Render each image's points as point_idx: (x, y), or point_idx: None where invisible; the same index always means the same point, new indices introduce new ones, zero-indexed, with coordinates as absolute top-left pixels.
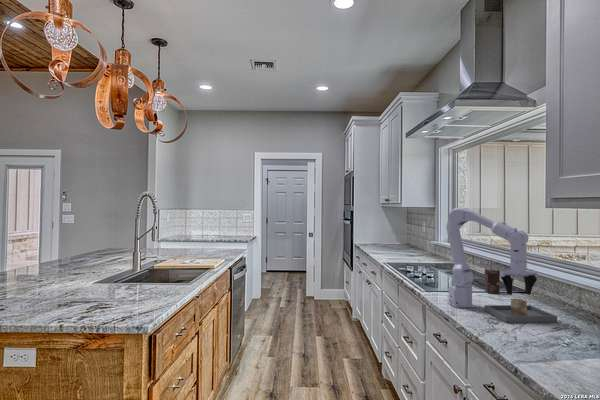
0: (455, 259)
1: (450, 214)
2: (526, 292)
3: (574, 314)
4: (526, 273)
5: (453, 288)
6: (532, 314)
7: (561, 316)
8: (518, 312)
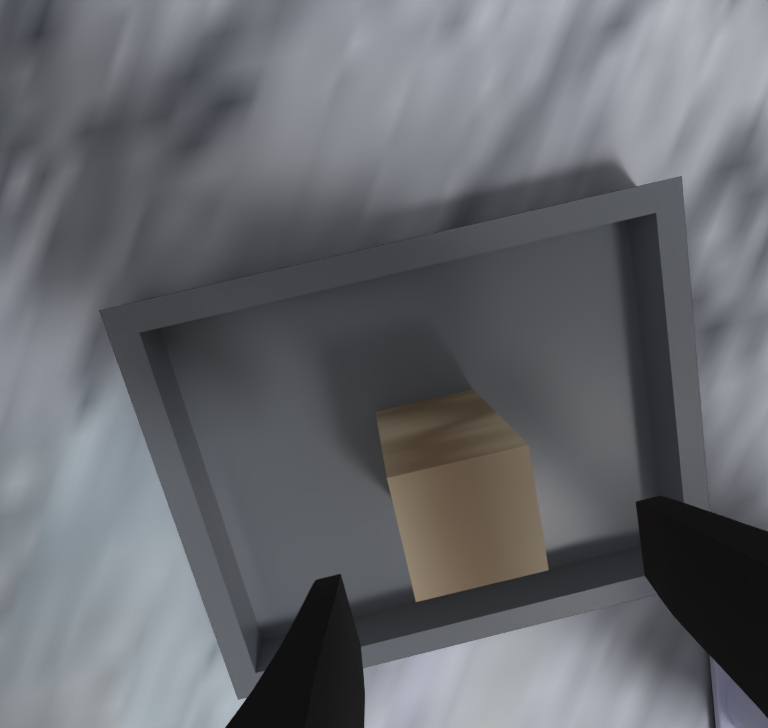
0: None
1: None
2: (355, 644)
3: None
4: None
5: None
6: (298, 480)
7: (19, 536)
8: (465, 403)
